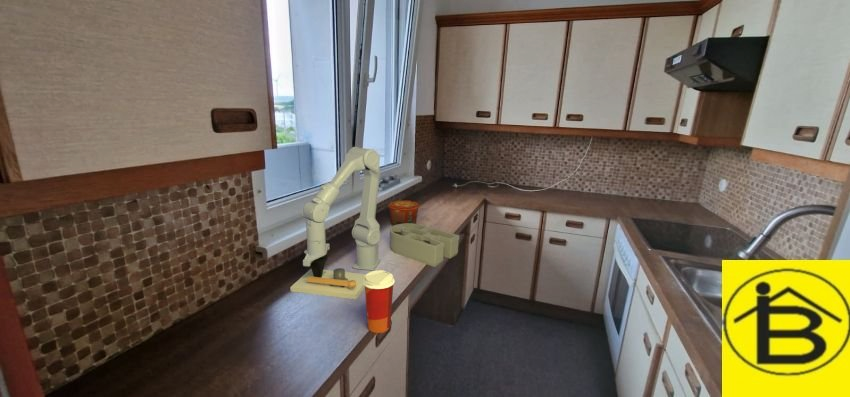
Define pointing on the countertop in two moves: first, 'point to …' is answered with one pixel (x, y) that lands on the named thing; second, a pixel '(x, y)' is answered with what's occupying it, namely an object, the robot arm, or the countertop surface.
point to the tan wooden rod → (332, 281)
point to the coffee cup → (378, 300)
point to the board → (328, 289)
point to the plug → (339, 275)
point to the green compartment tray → (423, 243)
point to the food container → (403, 212)
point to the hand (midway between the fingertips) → (318, 277)
